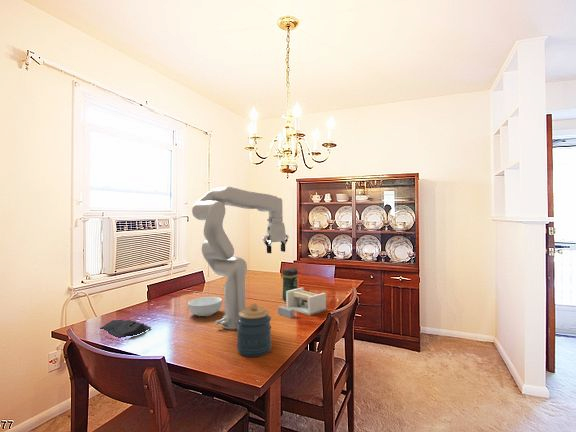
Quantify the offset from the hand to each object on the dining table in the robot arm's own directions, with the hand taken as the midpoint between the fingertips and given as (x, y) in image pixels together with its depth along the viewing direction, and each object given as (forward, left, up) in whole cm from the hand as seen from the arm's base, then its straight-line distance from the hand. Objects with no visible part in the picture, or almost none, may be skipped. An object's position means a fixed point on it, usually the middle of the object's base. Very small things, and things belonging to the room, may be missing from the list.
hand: (276, 252), depth 169 cm
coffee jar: (+16, +7, -31) cm, 35 cm away
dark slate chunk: (-71, +22, -31) cm, 80 cm away
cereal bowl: (-33, +18, -31) cm, 48 cm away
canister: (-39, -34, -31) cm, 60 cm away
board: (+10, -12, -24) cm, 29 cm away
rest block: (-4, -12, -30) cm, 33 cm away
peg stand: (+10, -12, -30) cm, 34 cm away
